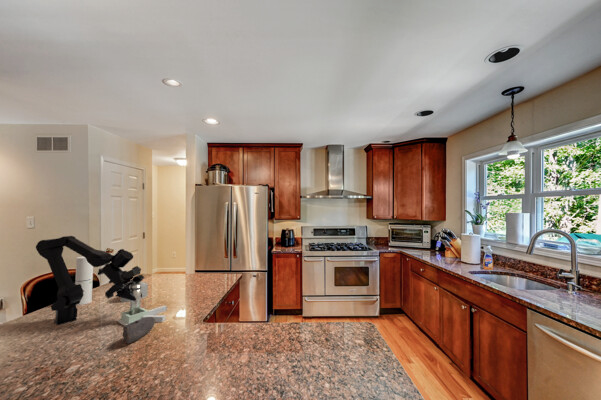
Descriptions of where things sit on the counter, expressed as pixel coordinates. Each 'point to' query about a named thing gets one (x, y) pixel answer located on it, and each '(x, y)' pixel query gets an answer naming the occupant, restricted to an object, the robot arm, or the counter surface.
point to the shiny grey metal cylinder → (136, 304)
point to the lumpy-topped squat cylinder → (143, 290)
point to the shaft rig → (143, 315)
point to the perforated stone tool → (137, 329)
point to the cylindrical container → (84, 279)
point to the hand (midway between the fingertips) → (138, 298)
